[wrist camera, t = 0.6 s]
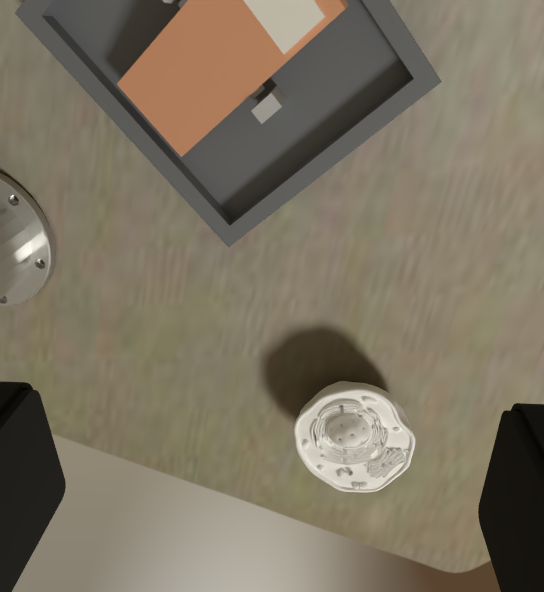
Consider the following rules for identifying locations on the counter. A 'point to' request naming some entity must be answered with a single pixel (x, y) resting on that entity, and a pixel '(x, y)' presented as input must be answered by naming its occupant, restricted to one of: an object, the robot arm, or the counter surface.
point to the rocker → (218, 60)
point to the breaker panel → (247, 100)
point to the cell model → (354, 437)
